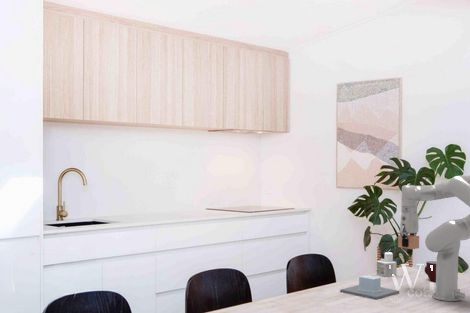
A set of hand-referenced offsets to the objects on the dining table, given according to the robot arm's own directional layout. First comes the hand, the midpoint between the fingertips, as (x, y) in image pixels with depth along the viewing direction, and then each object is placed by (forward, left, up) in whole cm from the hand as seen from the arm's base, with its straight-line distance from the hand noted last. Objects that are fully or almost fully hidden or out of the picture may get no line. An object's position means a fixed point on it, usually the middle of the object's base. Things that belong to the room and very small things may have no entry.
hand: (408, 245), depth 293 cm
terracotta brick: (0, 0, -1) cm, 1 cm away
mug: (+2, -28, -22) cm, 36 cm away
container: (+26, -22, -22) cm, 40 cm away
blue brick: (+8, +22, -20) cm, 31 cm away
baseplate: (+8, +22, -21) cm, 32 cm away
